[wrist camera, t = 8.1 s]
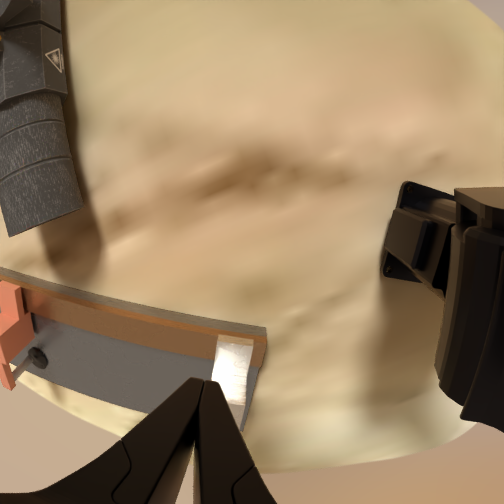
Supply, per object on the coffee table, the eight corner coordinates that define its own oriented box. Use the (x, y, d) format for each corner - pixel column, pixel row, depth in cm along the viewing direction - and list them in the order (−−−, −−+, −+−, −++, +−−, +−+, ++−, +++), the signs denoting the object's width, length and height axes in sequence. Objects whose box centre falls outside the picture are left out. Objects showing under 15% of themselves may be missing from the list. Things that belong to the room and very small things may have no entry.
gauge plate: (266, 325, 21) (269, 376, 16) (243, 421, 24) (240, 471, 19) (-5, 263, 20) (-46, 286, 15) (13, 355, 23) (-16, 385, 18)
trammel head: (26, 282, 19) (-9, 306, 15) (41, 364, 21) (16, 393, 17) (8, 276, 19) (-26, 298, 15) (23, 357, 21) (-2, 383, 17)
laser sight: (28, 230, 20) (-64, 273, 10) (3, 7, 13) (-64, -18, 4) (126, 191, 19) (29, 224, 9) (88, -48, 13) (31, -103, 3)
